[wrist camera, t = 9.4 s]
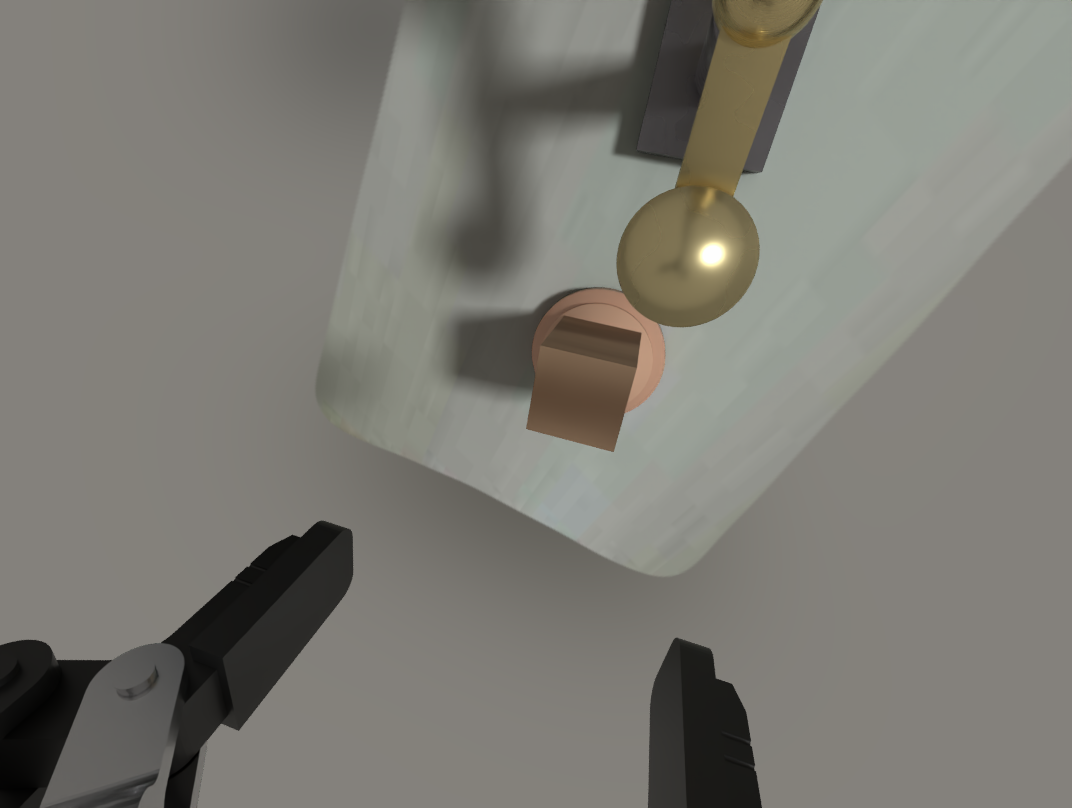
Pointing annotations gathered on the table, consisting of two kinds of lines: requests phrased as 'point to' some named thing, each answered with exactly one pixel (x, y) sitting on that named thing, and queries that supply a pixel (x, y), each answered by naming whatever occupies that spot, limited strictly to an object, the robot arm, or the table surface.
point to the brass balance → (709, 152)
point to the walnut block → (584, 382)
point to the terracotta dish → (618, 313)
